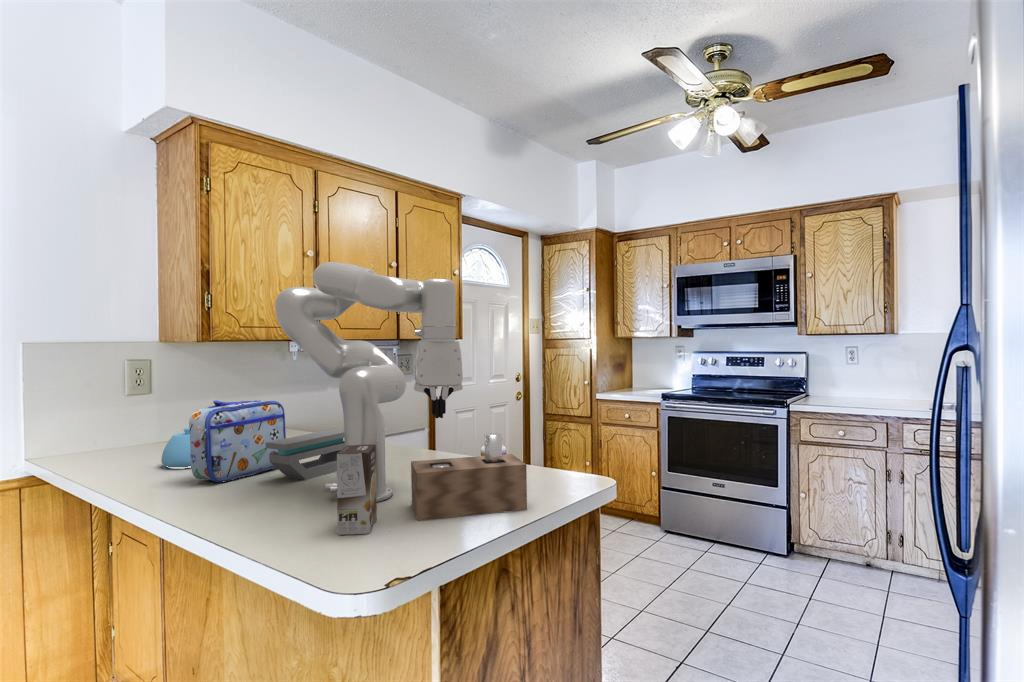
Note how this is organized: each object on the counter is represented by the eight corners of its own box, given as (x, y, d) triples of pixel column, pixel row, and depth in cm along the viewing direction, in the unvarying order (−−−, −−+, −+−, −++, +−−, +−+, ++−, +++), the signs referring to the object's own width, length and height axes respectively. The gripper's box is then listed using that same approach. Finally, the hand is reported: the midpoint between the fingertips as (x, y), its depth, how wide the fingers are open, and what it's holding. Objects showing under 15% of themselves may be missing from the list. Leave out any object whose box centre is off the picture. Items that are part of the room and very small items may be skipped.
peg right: (487, 476, 126) (486, 436, 126) (483, 472, 129) (482, 433, 129) (504, 475, 127) (503, 435, 127) (499, 471, 131) (499, 432, 131)
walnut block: (417, 520, 117) (416, 473, 117) (411, 504, 129) (411, 461, 129) (527, 509, 124) (526, 464, 124) (512, 495, 136) (511, 453, 136)
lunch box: (207, 489, 146) (206, 404, 146) (181, 485, 150) (180, 403, 150) (291, 466, 170) (289, 394, 170) (266, 464, 175) (265, 393, 175)
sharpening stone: (335, 463, 174) (334, 428, 174) (354, 466, 170) (353, 430, 170) (266, 482, 152) (265, 442, 152) (286, 485, 148) (285, 444, 148)
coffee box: (370, 534, 110) (369, 452, 110) (336, 535, 109) (335, 453, 109) (377, 519, 119) (376, 443, 119) (346, 520, 118) (345, 444, 118)
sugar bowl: (181, 460, 183) (180, 424, 183) (226, 459, 183) (225, 424, 183) (150, 470, 168) (149, 432, 168) (199, 470, 168) (198, 431, 168)
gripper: (405, 334, 119) (405, 421, 119) (475, 335, 123) (474, 418, 123) (402, 334, 126) (402, 416, 127) (468, 334, 130) (468, 413, 131)
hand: (438, 417), depth 125 cm, fingers closed
